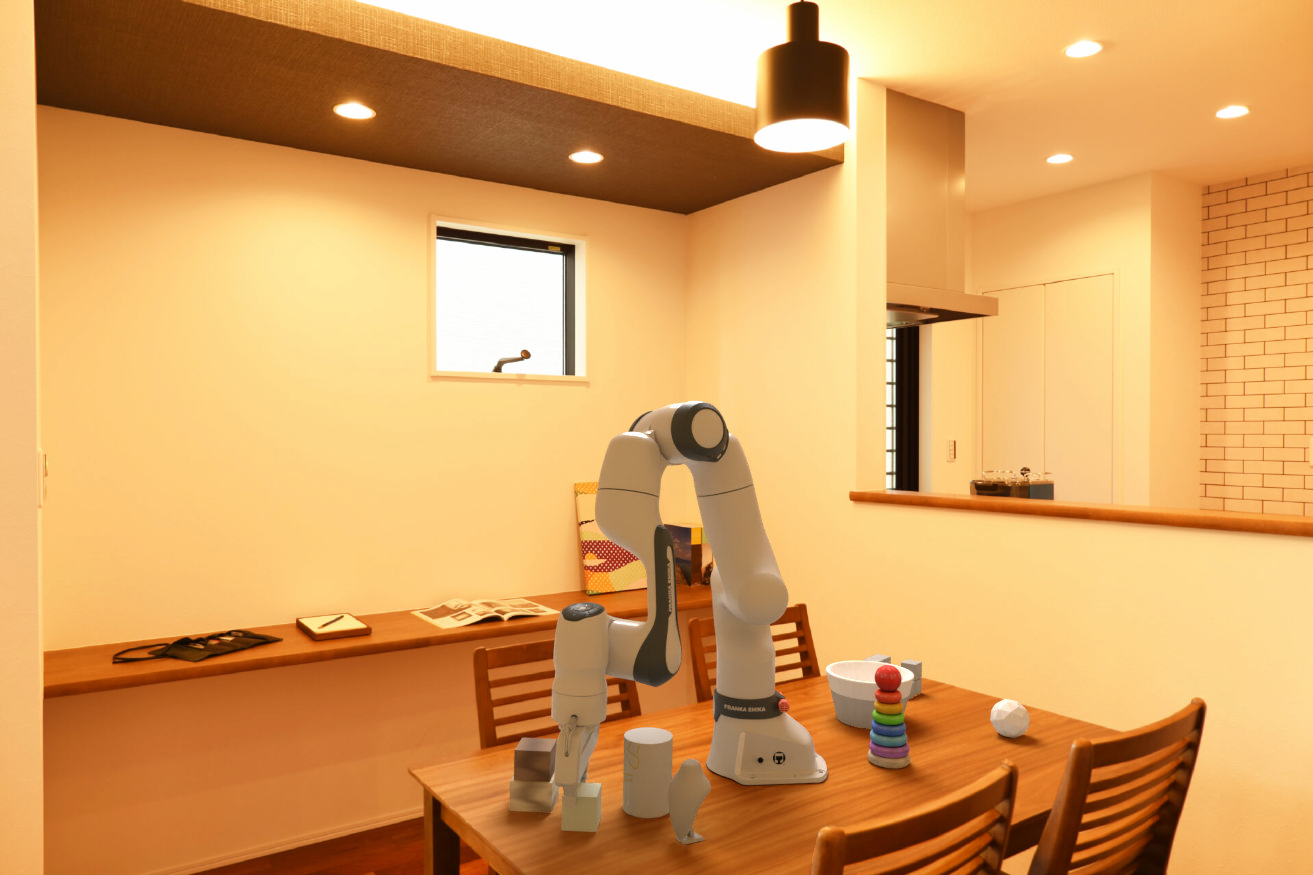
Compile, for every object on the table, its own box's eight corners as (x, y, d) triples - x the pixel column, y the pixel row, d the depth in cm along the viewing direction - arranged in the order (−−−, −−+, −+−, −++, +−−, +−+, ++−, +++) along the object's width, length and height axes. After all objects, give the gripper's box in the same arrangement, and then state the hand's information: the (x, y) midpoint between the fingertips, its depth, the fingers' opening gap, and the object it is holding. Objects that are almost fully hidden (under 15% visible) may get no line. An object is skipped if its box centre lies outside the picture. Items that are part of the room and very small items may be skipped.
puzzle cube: (855, 694, 211) (855, 662, 211) (876, 684, 220) (876, 653, 220) (902, 704, 203) (902, 671, 203) (921, 693, 212) (922, 661, 213)
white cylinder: (621, 797, 147) (622, 727, 147) (668, 796, 148) (670, 726, 148) (624, 818, 139) (625, 744, 139) (673, 817, 140) (675, 743, 140)
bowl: (845, 700, 205) (846, 655, 205) (925, 717, 194) (926, 669, 194) (810, 721, 189) (811, 672, 189) (895, 740, 178) (896, 688, 178)
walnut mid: (556, 767, 147) (556, 738, 147) (549, 781, 141) (550, 751, 141) (521, 766, 148) (522, 737, 148) (513, 780, 142) (514, 749, 142)
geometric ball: (1007, 745, 184) (1016, 710, 188) (1033, 743, 177) (1041, 707, 181) (978, 728, 183) (987, 694, 187) (1003, 726, 176) (1011, 690, 180)
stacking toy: (876, 751, 171) (877, 657, 171) (916, 760, 167) (917, 664, 167) (861, 763, 165) (862, 665, 165) (902, 773, 160) (903, 672, 160)
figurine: (659, 834, 133) (660, 757, 134) (686, 825, 137) (687, 750, 137) (689, 853, 127) (690, 772, 127) (716, 844, 131) (717, 765, 131)
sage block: (600, 816, 140) (601, 783, 140) (596, 832, 134) (597, 797, 134) (567, 815, 140) (567, 781, 140) (561, 830, 134) (562, 795, 134)
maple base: (558, 795, 148) (559, 766, 148) (551, 813, 141) (551, 782, 141) (518, 794, 148) (519, 765, 148) (509, 811, 141) (509, 781, 141)
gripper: (588, 729, 127) (584, 822, 127) (607, 690, 147) (604, 771, 147) (546, 726, 127) (542, 819, 127) (571, 688, 148) (568, 768, 148)
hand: (575, 793), depth 137 cm, fingers open, 8 cm apart
